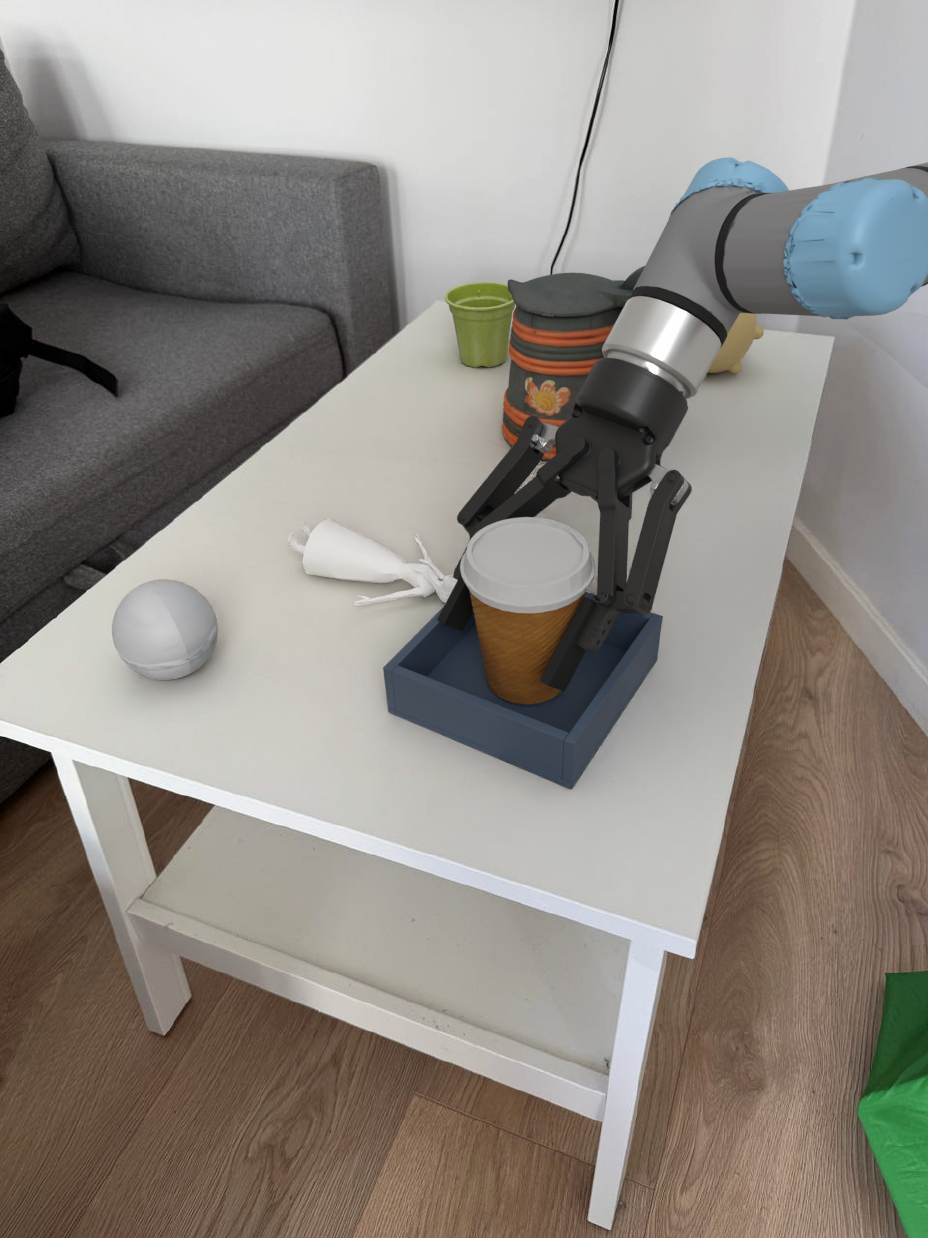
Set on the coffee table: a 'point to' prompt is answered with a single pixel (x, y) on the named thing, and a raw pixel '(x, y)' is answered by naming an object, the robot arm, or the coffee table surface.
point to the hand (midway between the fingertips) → (498, 654)
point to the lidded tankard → (557, 343)
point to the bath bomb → (164, 629)
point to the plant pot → (481, 321)
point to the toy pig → (737, 344)
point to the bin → (521, 733)
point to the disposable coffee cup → (524, 599)
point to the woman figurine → (367, 562)
